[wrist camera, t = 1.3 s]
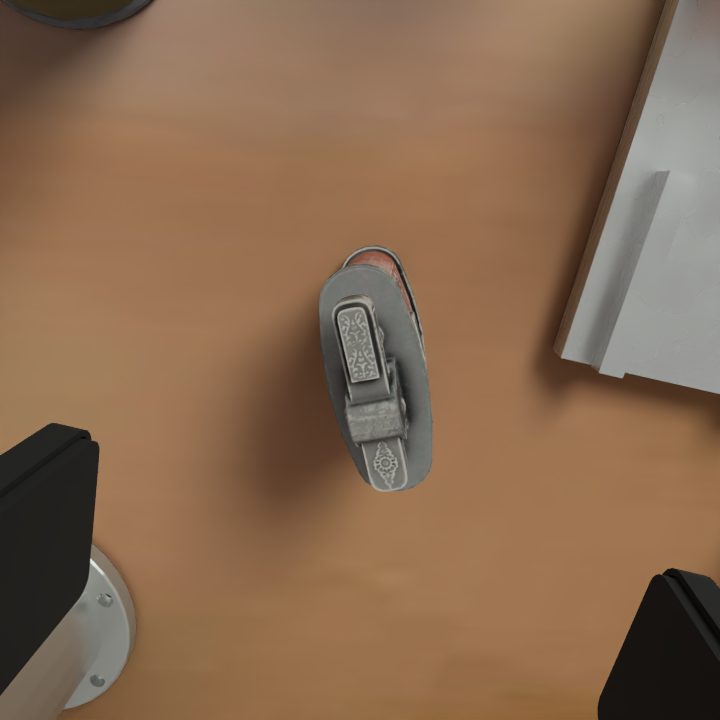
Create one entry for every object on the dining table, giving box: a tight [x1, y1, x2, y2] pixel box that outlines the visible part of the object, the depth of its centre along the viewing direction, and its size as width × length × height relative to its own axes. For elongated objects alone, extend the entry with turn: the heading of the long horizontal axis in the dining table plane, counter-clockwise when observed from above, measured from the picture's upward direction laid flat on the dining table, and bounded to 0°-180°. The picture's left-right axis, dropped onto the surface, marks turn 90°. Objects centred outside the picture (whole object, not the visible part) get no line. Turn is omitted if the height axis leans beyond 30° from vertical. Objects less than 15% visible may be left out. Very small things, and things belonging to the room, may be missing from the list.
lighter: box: [319, 245, 433, 492], centre depth 22 cm, size 8×3×10 cm, turn 12°
